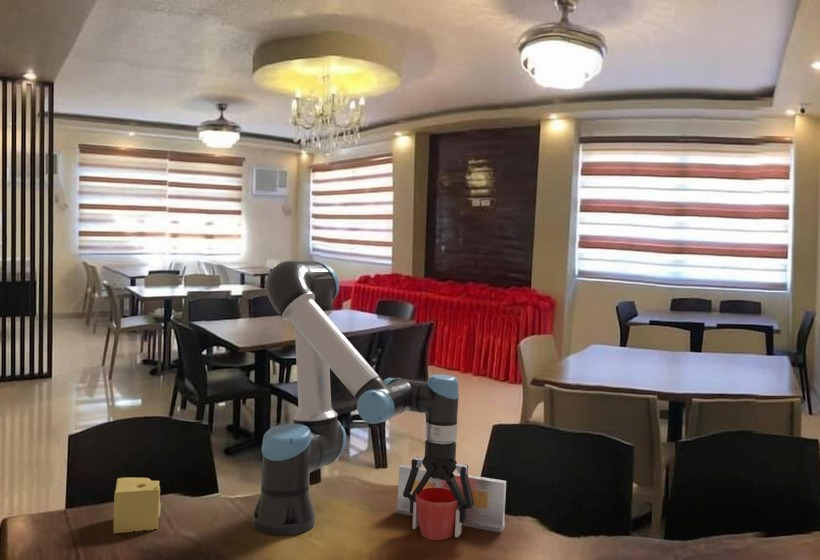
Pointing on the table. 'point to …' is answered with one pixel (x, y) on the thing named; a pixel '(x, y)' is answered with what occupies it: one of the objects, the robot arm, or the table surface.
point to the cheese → (136, 505)
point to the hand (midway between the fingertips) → (436, 530)
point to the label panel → (485, 494)
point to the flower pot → (436, 512)
